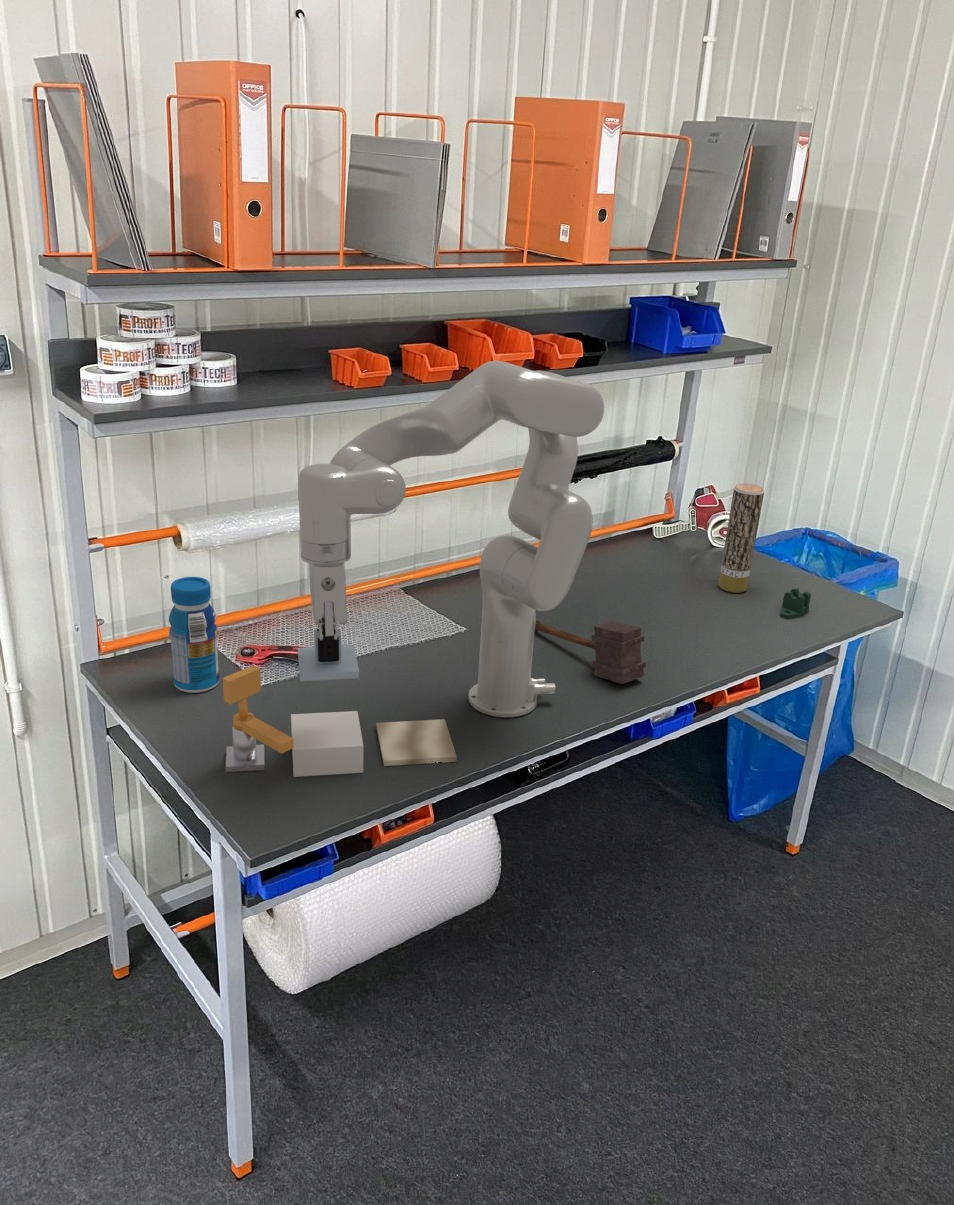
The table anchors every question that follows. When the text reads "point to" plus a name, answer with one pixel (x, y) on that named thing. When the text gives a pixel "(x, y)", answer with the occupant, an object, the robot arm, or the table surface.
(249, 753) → the grey square flange base
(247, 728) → the latch
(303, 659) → the cover
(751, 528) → the paper tube
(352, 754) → the housing
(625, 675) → the hammer
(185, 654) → the beverage bottle
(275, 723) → the table surface
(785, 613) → the mount
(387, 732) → the pad
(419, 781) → the table surface
